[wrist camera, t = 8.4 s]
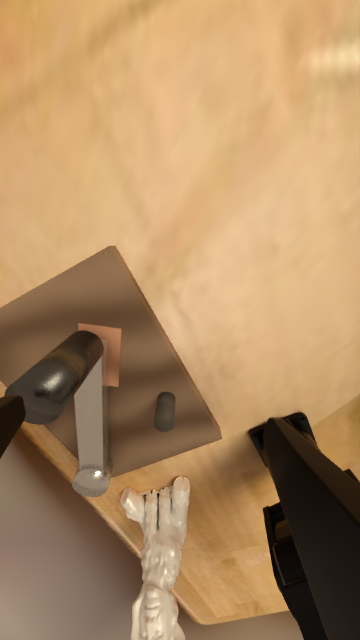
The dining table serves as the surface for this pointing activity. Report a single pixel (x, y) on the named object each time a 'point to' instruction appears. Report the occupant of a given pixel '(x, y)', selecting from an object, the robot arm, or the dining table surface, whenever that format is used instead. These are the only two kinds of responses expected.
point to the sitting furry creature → (159, 557)
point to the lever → (89, 396)
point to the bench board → (111, 361)
